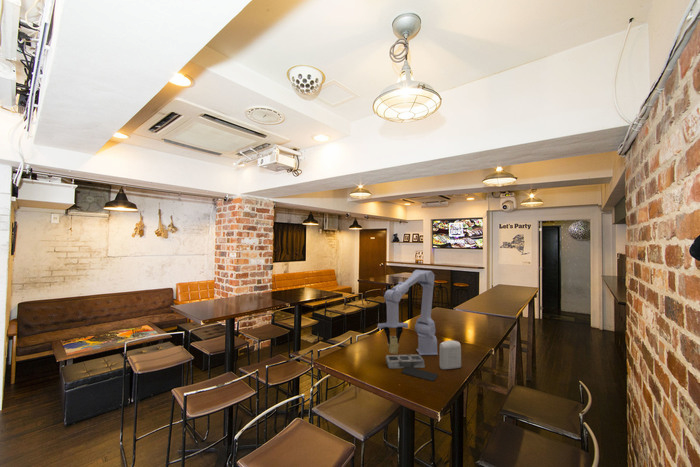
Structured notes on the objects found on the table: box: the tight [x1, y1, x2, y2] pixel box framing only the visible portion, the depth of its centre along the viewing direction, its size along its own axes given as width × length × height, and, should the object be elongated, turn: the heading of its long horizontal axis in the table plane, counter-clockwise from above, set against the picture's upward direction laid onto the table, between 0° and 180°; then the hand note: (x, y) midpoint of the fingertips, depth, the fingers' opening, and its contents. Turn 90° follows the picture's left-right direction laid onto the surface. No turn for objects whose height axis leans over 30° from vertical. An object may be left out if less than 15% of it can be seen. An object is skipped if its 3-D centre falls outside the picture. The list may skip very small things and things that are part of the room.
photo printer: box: [438, 340, 462, 370], centre depth 132 cm, size 10×4×12 cm, turn 103°
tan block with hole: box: [387, 335, 400, 354], centre depth 136 cm, size 5×5×7 cm
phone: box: [401, 367, 439, 382], centre depth 126 cm, size 7×1×15 cm
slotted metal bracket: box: [385, 353, 425, 369], centre depth 136 cm, size 17×8×3 cm, turn 92°
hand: (393, 342), depth 136 cm, fingers closed on tan block with hole, 4 cm apart
